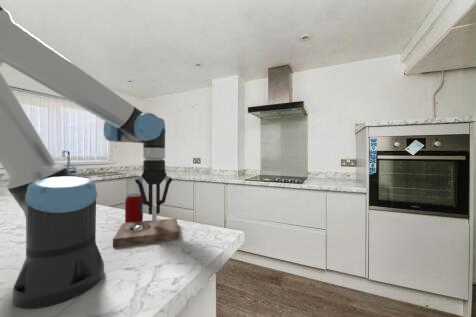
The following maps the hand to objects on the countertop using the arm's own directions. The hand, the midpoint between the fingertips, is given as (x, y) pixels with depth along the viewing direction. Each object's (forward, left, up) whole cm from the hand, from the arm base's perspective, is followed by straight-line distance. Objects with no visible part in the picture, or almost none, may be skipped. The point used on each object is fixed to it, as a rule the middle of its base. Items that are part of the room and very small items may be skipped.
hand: (154, 222), depth 74 cm
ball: (0, +5, -2) cm, 6 cm away
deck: (0, +2, -4) cm, 4 cm away
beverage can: (+15, +9, -4) cm, 18 cm away
